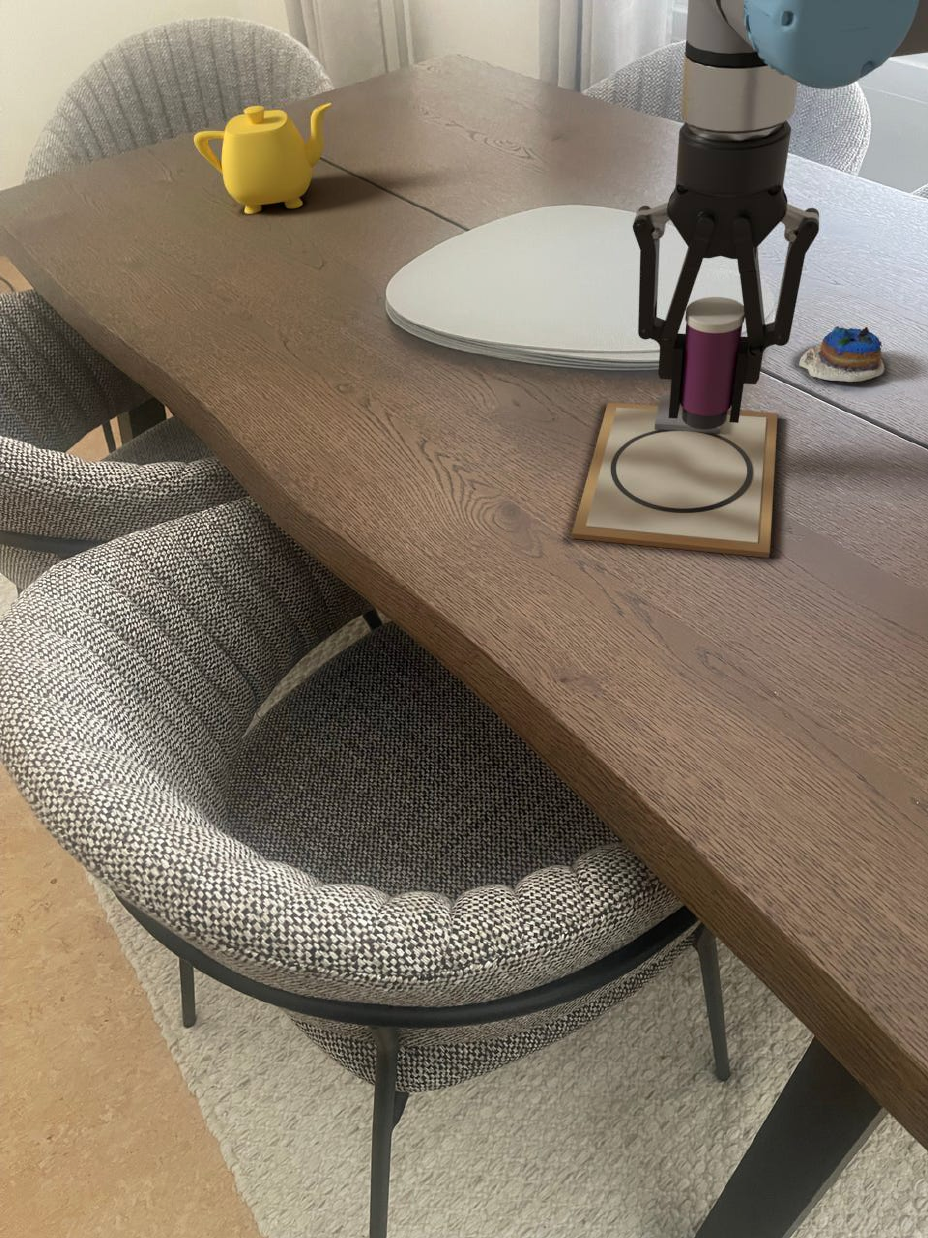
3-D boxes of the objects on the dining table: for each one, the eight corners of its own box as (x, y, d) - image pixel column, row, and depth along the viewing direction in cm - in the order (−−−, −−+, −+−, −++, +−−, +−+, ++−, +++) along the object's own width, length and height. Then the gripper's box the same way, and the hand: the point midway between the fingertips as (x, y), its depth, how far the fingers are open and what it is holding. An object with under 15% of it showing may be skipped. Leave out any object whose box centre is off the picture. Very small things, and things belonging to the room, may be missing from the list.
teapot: (346, 207, 133) (330, 113, 125) (208, 225, 133) (181, 132, 125) (346, 173, 143) (331, 83, 134) (216, 189, 143) (192, 101, 134)
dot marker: (729, 434, 79) (743, 325, 72) (674, 430, 80) (683, 322, 73) (733, 404, 82) (747, 297, 75) (680, 401, 83) (689, 295, 76)
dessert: (905, 355, 92) (892, 323, 88) (867, 412, 93) (853, 383, 88) (833, 334, 97) (818, 303, 93) (798, 389, 98) (781, 360, 93)
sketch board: (768, 558, 75) (771, 545, 74) (572, 538, 79) (571, 525, 78) (777, 414, 89) (779, 401, 88) (608, 403, 93) (609, 390, 92)
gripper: (869, 100, 65) (811, 394, 81) (616, 103, 69) (610, 382, 85) (872, 140, 60) (809, 444, 76) (600, 140, 64) (597, 428, 81)
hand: (704, 411), depth 81 cm, fingers closed on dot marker, 4 cm apart
